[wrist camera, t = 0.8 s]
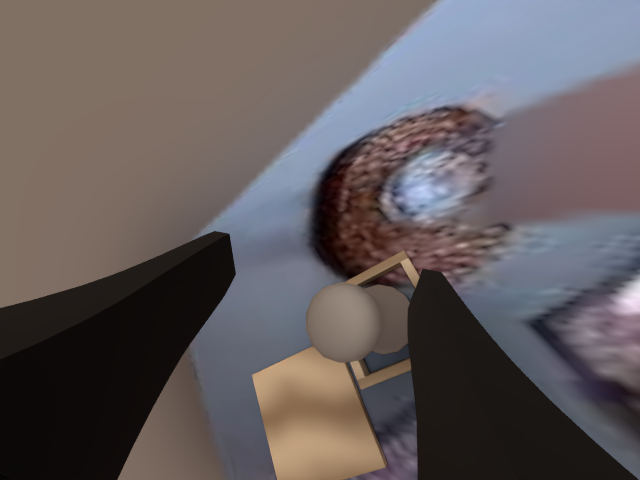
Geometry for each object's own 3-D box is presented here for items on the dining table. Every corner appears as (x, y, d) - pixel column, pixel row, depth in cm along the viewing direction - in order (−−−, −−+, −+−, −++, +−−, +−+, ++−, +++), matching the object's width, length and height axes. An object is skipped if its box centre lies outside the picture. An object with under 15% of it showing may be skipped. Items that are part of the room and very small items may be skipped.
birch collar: (461, 347, 22) (462, 349, 20) (365, 385, 24) (361, 389, 23) (406, 253, 26) (403, 250, 24) (328, 295, 28) (322, 294, 27)
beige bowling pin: (352, 340, 26) (276, 360, 14) (362, 282, 27) (299, 260, 15) (414, 358, 23) (379, 401, 12) (422, 294, 24) (398, 276, 13)
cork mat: (387, 463, 22) (385, 467, 21) (285, 493, 25) (281, 497, 24) (336, 335, 27) (334, 336, 26) (255, 374, 30) (251, 375, 29)
